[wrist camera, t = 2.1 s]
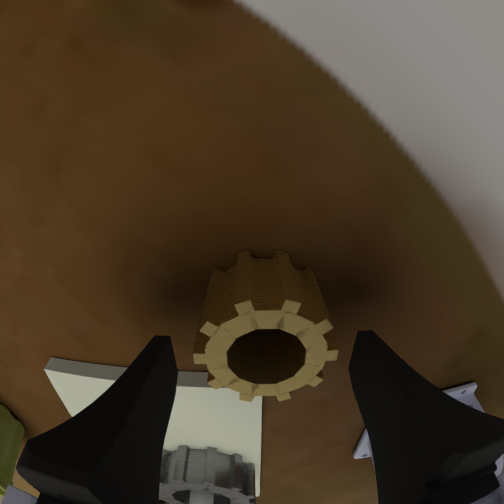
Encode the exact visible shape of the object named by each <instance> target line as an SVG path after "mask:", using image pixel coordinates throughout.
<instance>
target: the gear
mask: <svg viewBox="0 0 504 504" xmlns="http://www.w3.org/2000/svg"><path fill="white" fill-rule="evenodd" d="M191 490H200V491H208V492H213V493H214V499H213V504H256V491H255V466H254V464H253V463H245V462H243V461H242V456H241V455H239V454H237V453H234V454H232V455H229V454H225V453H221V452H218V451H217V448H213V447H207V449H190V448H189V447H188V446H187V445H184V446H178V450H174V451H167V450H165V449H163V452H162V462H161V472H160V486H159V500H163V501H165V502H167V503H169V504H189V501H190V491H191Z"/></svg>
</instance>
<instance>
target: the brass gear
mask: <svg viewBox="0 0 504 504" xmlns="http://www.w3.org/2000/svg"><path fill="white" fill-rule="evenodd" d="M333 328H334V327H333V324H332V321H331V319H330V316H329V313H328V310H327V307H326V304H325V302H324V299H323V296H322V293H321V291H320V288H319V285H318V282H317V280H316V277H315V274H314V273H313V272H312V270H311V269H310V268H309V266H308V267H306V268H305V269H303V270H301V271H300V270H299V269H297V268H295V267H293V266H292V265H291V261H290V257H289V253H288V252H285V251H281V250H278V249H276V252H275V254H274V257H273V258H252V255H251V252H250V250H246V251H243V252H240V253H237V265H236V266H234V267H232V268H230V269H228V270H226V271H225V272H224V271H222V270H220V269H219V268H216V269H215V270H214V272H213V273H212V274H211V276H210V280H209V285H208V290H207V295H206V297H204V301H203V306H202V311H201V316H200V321H199V325H198V330H197V335H196V341H195V346H194V351H193V357H194V362H195V364H207V368H208V378H207V383H208V384H209V385H210V386H212V387H213V388H214V389H215V390H216V389H219V388H221V387H223V386H224V387H226V388H228V389H231V390H234V391H237V392H239V400H242V401H248V402H252V401H253V399H254V397H255V396H276V397H277V399H278V401H283V400H287V399H291V393H290V391H293V390H295V389H298V388H300V387H303V386H305V384H306V385H307V384H309V385H311V386H313V387H316V386H317V385H318V384H319V383H320V382H322V381H323V380H324V378H323V374H322V370H321V369H322V368H323V366H324V363H325V361H333V360H337V356H338V351H339V349H338V346H337V343H336V340H335V337H334V334H333V331H332V329H333Z"/></svg>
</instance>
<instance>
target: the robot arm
mask: <svg viewBox="0 0 504 504" xmlns="http://www.w3.org/2000/svg"><path fill="white" fill-rule="evenodd" d="M349 373H350V378H351V383H352V388H353V391H354V394H355V397H356V400H357V403H358V406H359V409H360V412H361V415H362V418H363V421H364V424H365V427H366V429H365V431H364V433H363V435H362V437H361V439H360V441H359V443H358V446H357V448H356V450H355V451H354V453H353V457H354V458H355V459H359V458H365V457H370V456H371V459H372V462H373V466H374V470H375V474H376V480H377V490H378V502H379V504H504V472H503V473H501V471H502V468H503V453H504V419H501V418H498V417H495V416H492V415H489V414H486V413H485V412H484V410H483V409H482V407H481V405H480V403H479V402H478V400H477V398H476V397H475V395H474V391H475V390H476V388H477V385H476V383H475V382H474V383H470V384H466V385H463V386H459V387H455V388H451V389H448V390H444V391H442V390H440V389H439V388H437V387H436V386H434V385H433V384H431V383H430V382H429V381H427V380H426V379H425V378H424V377H422V376H421V375H420V374H419V373H417V372H416V371H415V370H414V369H413V368H411V367H410V366H409V365H408V364H407V363H406V362H405V361H404V360H403V359H401V358H400V357H399V356H398V355H397V354H396V353H395V352H394V351H393V350H392V349H391V348H390V347H389V346H388V345H387V344H386V343H385V342H384V341H383V340H382V339H381V338H380V337H379V336H378V335H376V334H375V333H374V332H373V331H372V330H369V331H358V332H357V336H356V341H355V345H354V349H353V353H352V357H351V360H350V364H349ZM177 379H178V370H177V365H176V361H175V356H174V352H173V347H172V343H171V338H170V336H157V335H155V336H154V337H153V338H152V339H151V340H150V342H149V343H148V344H147V345H146V347H145V348H144V349H143V350H142V352H141V353H140V354H139V355H138V356H137V358H136V359H135V360H134V361H133V362H132V364H131V365H130V366H129V367H128V368H127V369H126V370H125V372H124V373H123V374H122V375H121V376H120V377H119V378H118V379H117V380H116V381H115V382H114V383H113V384H112V385H111V386H110V387H109V388H108V389H107V390H106V391H105V392H104V393H103V394H102V395H101V396H99V397H98V398H97V399H96V400H95V401H94V402H92V403H91V404H90V405H89V406H87V407H86V408H84V409H83V410H82V411H80V412H79V413H78V414H76V415H75V416H73V417H72V418H70V419H69V420H67V421H65V422H64V423H62V424H60V425H58V426H57V427H55V428H53V429H51V430H49V431H47V432H45V433H43V434H41V435H38V436H36V437H34V438H32V439H29V440H28V441H27V443H26V445H25V447H24V449H23V451H22V454H21V456H20V458H19V461H18V463H17V465H16V469H17V471H18V473H19V474H20V475H21V476H22V477H23V478H24V479H25V480H26V481H27V482H28V483H29V484H30V485H32V486H33V487H34V488H35V489H37V490H38V491H39V492H40V495H39V498H37V497H35V496H33V495H31V494H29V493H27V492H25V491H23V490H20V489H18V488H16V487H14V486H12V485H8V486H7V489H6V492H5V494H4V497H3V500H2V503H1V504H159V486H160V472H161V462H162V452H163V446H164V440H165V436H166V432H167V428H168V424H169V420H170V416H171V412H172V408H173V404H174V399H175V395H176V388H177ZM500 473H501V474H500Z"/></svg>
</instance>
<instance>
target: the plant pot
mask: <svg viewBox="0 0 504 504" xmlns="http://www.w3.org/2000/svg"><path fill="white" fill-rule="evenodd" d="M24 433H25V429H24V427H23V425H22V424H21V422H20V421H19V420H16V419H15V418H14V417H13V416H12V415H11V413H10V411H9V410H8V409H7V408H6V407H5V406H3V405H1V404H0V495H1V496H2V497H4V494H5V492H6V489H7V486H8V485H12V486H13V482H12V479H13V474H14V470H15V466H16V461H17V458H18V454H19V450H20V447H21V443H22V440H23V436H24Z"/></svg>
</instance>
